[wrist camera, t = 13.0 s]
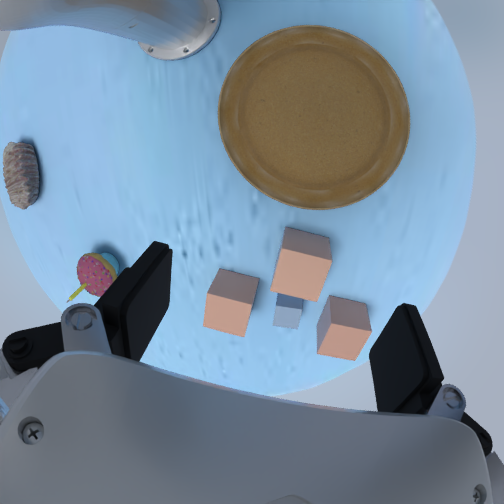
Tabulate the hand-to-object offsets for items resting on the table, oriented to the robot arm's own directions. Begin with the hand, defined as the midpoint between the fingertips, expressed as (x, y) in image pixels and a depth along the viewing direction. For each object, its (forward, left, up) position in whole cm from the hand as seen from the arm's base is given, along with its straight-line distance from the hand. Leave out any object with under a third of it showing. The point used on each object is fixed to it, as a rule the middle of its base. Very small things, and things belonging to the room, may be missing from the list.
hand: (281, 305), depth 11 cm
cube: (+4, -22, -31) cm, 38 cm away
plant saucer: (+1, +7, -31) cm, 32 cm away
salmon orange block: (+13, -22, -31) cm, 40 cm away
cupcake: (-29, -24, -31) cm, 49 cm away
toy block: (+4, -12, -31) cm, 33 cm away
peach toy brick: (-5, -22, -31) cm, 38 cm away
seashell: (-51, -9, -31) cm, 60 cm away
